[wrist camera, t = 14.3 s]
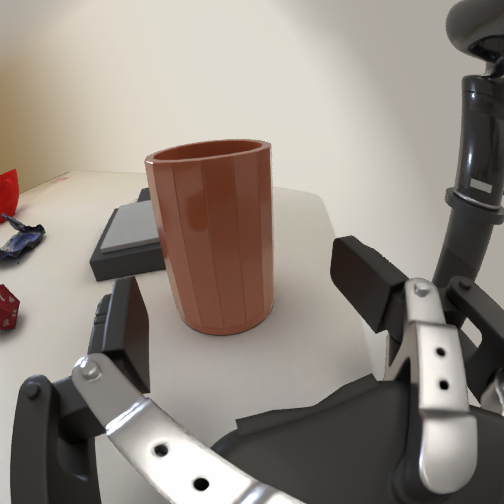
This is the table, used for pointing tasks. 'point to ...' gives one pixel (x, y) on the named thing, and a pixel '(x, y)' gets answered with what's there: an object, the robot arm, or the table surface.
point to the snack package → (20, 238)
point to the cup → (216, 231)
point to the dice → (8, 308)
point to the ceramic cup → (8, 193)
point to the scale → (128, 243)
